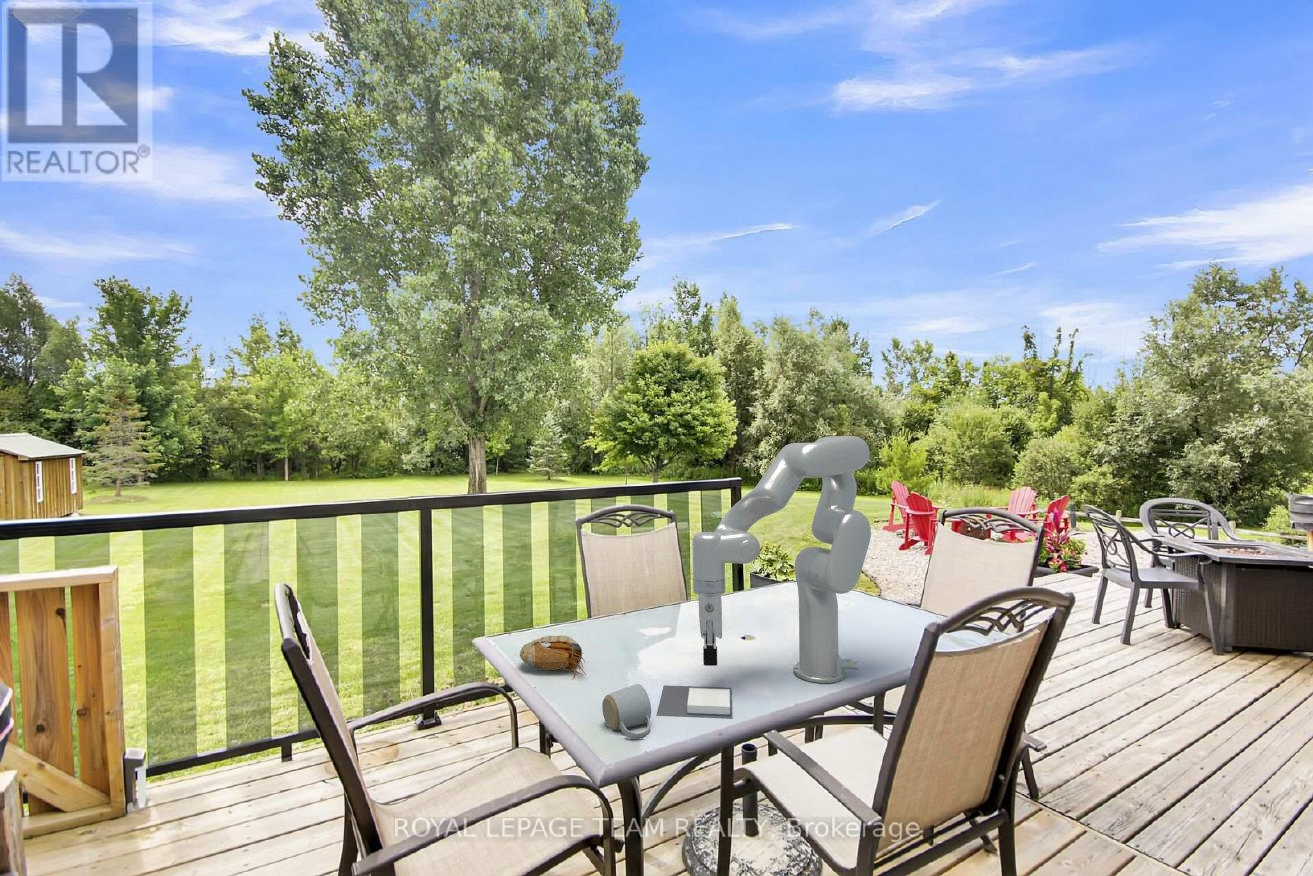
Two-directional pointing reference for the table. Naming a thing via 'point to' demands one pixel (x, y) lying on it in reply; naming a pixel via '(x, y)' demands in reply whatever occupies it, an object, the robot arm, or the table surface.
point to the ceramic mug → (627, 710)
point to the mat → (683, 702)
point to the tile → (708, 701)
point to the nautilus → (553, 653)
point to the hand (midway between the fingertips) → (710, 664)
